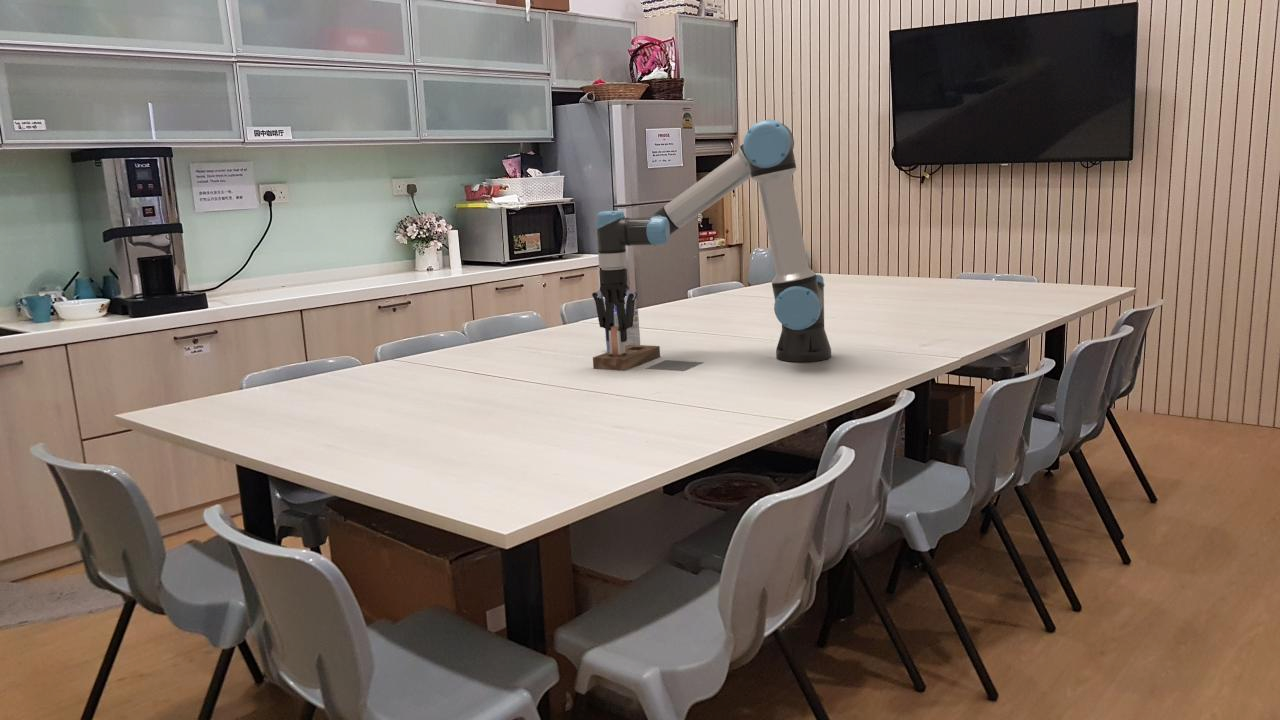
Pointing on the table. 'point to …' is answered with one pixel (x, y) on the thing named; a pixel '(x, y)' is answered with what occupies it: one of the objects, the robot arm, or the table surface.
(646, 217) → the robot arm
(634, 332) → the ink cartridge box
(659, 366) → the mat
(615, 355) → the peg
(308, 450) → the table surface
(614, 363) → the socket block
